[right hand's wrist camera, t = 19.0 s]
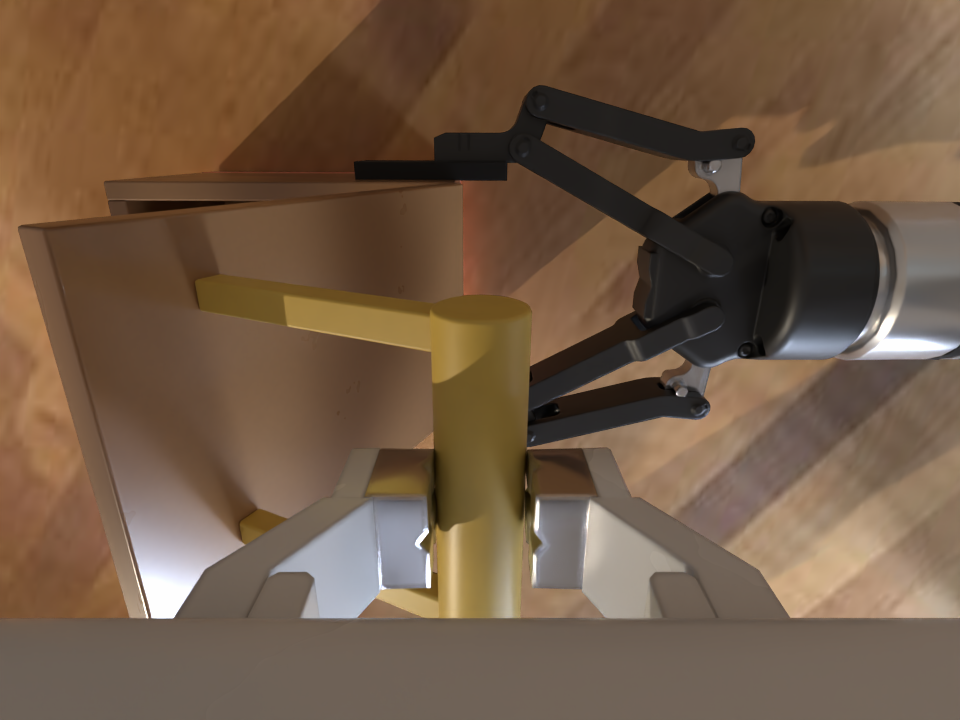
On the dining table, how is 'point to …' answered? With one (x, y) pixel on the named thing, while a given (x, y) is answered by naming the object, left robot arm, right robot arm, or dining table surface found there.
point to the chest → (235, 189)
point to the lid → (287, 380)
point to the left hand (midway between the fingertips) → (369, 281)
